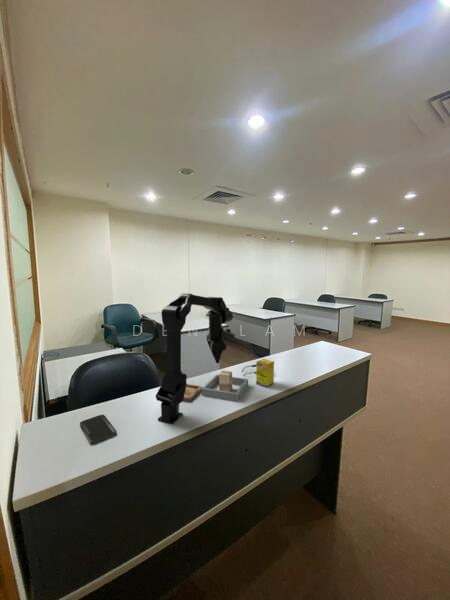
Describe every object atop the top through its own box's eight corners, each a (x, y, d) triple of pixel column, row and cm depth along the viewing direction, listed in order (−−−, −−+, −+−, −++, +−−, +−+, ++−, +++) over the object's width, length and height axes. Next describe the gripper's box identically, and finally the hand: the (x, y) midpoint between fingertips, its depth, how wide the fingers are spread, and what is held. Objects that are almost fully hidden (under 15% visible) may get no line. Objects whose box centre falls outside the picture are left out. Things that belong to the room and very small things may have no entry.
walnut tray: (189, 402, 99) (189, 398, 99) (163, 397, 103) (163, 394, 103) (202, 389, 110) (202, 386, 110) (179, 385, 114) (179, 382, 114)
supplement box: (256, 384, 115) (256, 361, 114) (263, 380, 120) (263, 358, 119) (266, 388, 111) (266, 364, 110) (274, 383, 115) (274, 361, 115)
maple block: (228, 393, 107) (228, 375, 106) (219, 391, 108) (219, 373, 107) (232, 388, 111) (232, 371, 110) (223, 387, 112) (222, 370, 112)
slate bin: (237, 401, 99) (237, 394, 99) (201, 395, 105) (201, 388, 105) (248, 385, 114) (248, 379, 114) (216, 380, 120) (216, 374, 119)
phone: (103, 413, 90) (117, 432, 79) (103, 416, 90) (117, 435, 79) (78, 422, 85) (90, 443, 74) (79, 425, 85) (90, 447, 74)
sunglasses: (268, 377, 123) (266, 367, 123) (244, 381, 123) (243, 371, 123) (263, 369, 134) (262, 360, 134) (241, 373, 133) (240, 364, 133)
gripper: (238, 328, 102) (238, 365, 103) (228, 321, 120) (229, 352, 121) (211, 329, 100) (212, 367, 101) (206, 322, 118) (206, 354, 119)
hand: (215, 359), depth 111 cm, fingers open, 9 cm apart
